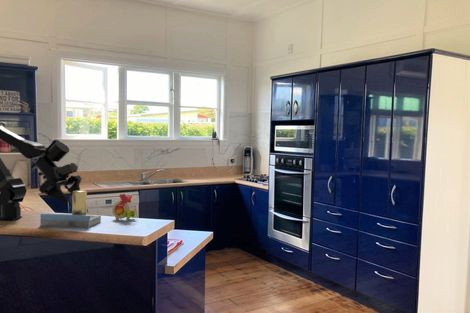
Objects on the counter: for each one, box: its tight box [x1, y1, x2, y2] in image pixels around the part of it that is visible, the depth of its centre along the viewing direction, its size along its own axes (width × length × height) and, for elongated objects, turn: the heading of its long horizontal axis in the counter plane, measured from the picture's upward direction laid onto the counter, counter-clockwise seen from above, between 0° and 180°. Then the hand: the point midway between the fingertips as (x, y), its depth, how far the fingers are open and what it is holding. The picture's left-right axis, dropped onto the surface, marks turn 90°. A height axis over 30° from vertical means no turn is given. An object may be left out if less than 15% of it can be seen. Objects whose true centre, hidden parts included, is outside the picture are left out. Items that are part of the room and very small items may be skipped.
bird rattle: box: [112, 193, 137, 222], centre depth 155 cm, size 6×11×9 cm
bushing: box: [71, 190, 88, 215], centre depth 145 cm, size 5×5×12 cm
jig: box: [40, 212, 102, 229], centre depth 145 cm, size 18×11×4 cm, turn 87°
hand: (74, 200), depth 145 cm, fingers open, 9 cm apart
